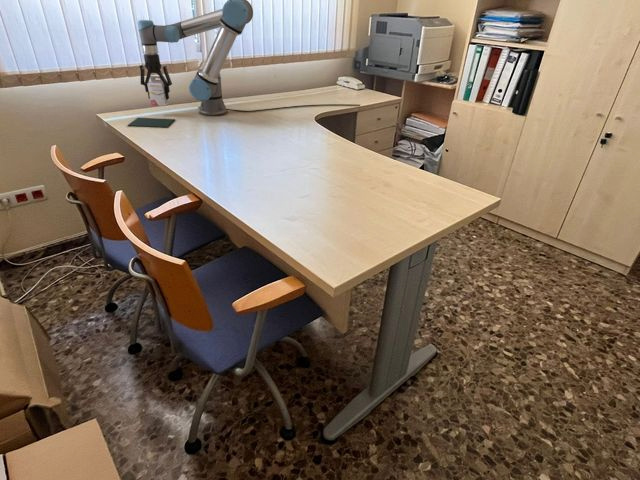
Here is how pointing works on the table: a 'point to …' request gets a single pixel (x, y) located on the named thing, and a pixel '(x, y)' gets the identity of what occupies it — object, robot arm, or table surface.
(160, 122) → the desk mat
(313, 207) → the table surface
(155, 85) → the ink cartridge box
